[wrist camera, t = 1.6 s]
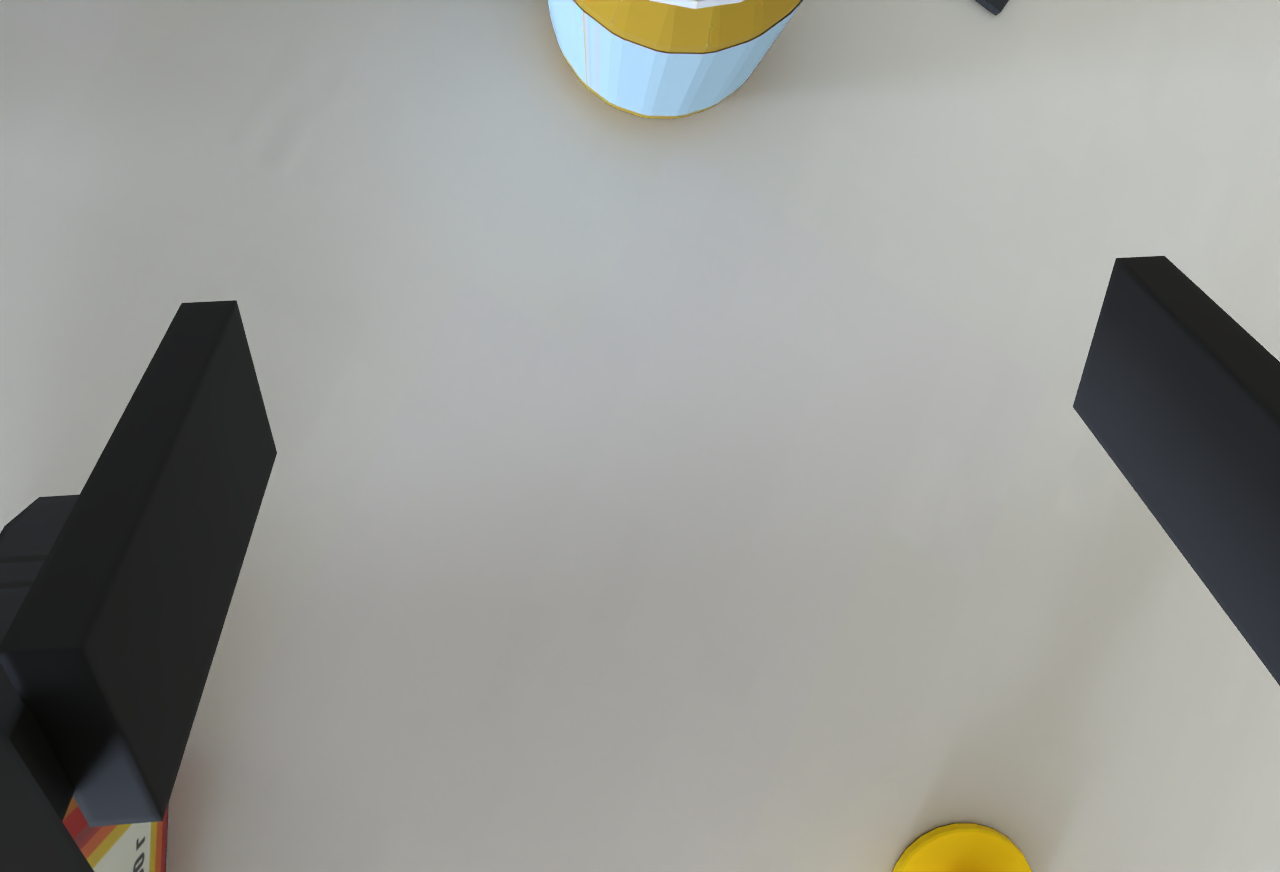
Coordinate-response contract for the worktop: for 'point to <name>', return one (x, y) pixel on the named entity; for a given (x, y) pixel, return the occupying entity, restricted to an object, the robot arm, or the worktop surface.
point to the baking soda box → (119, 843)
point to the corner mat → (993, 5)
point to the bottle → (666, 49)
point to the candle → (962, 851)
